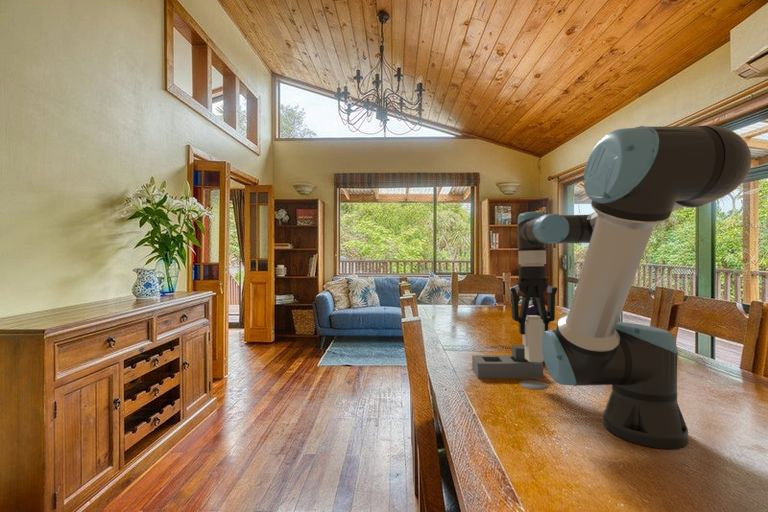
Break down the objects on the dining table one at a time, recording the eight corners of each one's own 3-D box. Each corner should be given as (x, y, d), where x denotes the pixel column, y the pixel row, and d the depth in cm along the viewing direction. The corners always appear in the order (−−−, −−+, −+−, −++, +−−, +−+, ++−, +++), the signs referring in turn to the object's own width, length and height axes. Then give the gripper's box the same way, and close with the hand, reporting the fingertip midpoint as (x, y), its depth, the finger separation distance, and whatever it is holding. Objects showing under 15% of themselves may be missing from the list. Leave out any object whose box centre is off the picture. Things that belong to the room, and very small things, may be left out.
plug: (543, 361, 105) (542, 317, 105) (529, 361, 105) (528, 317, 105) (538, 358, 109) (537, 315, 109) (524, 358, 109) (523, 315, 109)
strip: (543, 379, 113) (543, 350, 113) (478, 379, 114) (477, 350, 114) (531, 369, 123) (531, 342, 123) (471, 369, 124) (471, 342, 124)
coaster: (553, 391, 104) (553, 389, 104) (524, 391, 104) (524, 389, 104) (542, 381, 112) (542, 379, 112) (515, 381, 112) (515, 379, 112)
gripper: (556, 264, 111) (558, 342, 110) (499, 265, 111) (500, 342, 111) (567, 265, 103) (569, 348, 103) (506, 266, 104) (507, 348, 104)
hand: (533, 345), depth 107 cm, fingers closed on plug, 4 cm apart
